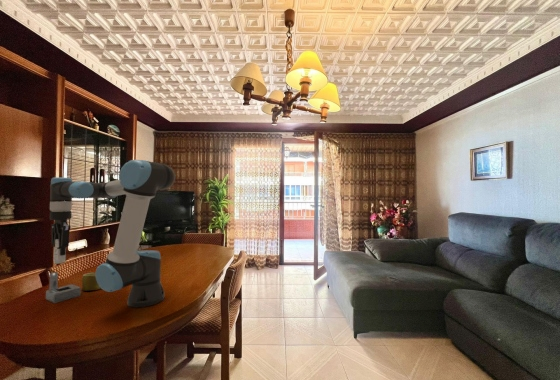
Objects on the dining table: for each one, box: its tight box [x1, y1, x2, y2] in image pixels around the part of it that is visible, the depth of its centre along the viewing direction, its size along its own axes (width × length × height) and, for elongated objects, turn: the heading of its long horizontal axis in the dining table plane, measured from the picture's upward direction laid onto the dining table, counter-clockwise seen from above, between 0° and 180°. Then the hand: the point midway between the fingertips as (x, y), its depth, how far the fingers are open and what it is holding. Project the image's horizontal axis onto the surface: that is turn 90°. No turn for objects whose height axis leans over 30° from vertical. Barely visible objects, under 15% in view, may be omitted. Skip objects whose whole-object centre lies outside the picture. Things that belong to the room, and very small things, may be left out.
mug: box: [81, 272, 101, 292], centre depth 130 cm, size 12×10×10 cm
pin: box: [54, 239, 65, 265], centre depth 112 cm, size 3×3×11 cm
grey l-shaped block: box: [45, 271, 82, 304], centre depth 120 cm, size 18×10×10 cm, turn 60°
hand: (59, 261), depth 112 cm, fingers closed on pin, 3 cm apart
